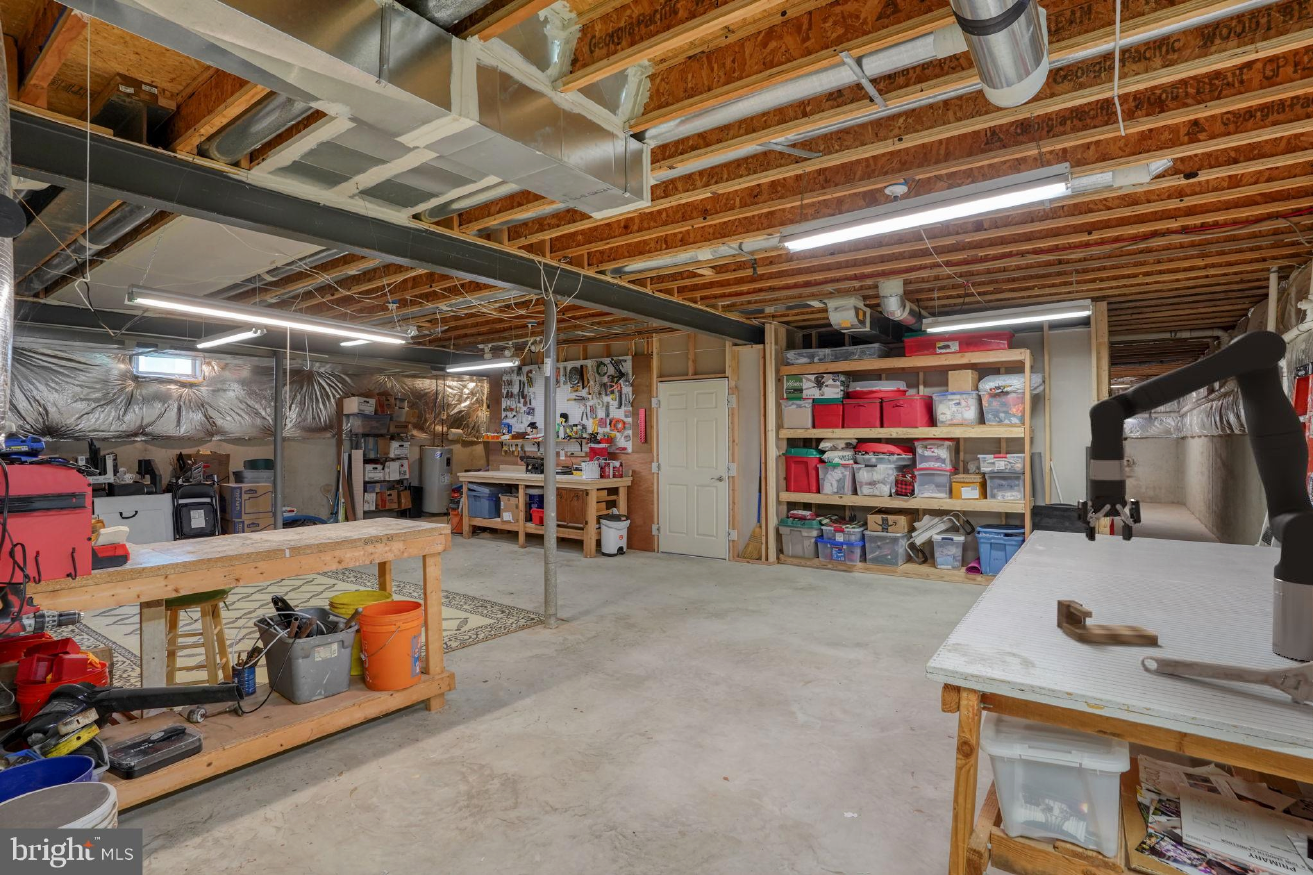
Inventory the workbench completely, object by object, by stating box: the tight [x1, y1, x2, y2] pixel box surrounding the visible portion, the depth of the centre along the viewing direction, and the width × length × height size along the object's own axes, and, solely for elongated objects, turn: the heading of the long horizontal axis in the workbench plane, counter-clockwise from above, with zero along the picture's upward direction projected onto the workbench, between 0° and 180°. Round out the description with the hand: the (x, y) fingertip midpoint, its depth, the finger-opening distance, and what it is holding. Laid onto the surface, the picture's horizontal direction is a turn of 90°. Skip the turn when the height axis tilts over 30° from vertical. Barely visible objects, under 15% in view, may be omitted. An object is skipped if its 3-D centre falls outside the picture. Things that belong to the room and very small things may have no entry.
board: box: [1062, 623, 1159, 645], centre depth 155 cm, size 18×7×2 cm, turn 84°
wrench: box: [1140, 655, 1313, 706], centre depth 125 cm, size 8×2×30 cm
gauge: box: [1056, 599, 1093, 631], centre depth 158 cm, size 4×10×7 cm, turn 174°
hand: (1109, 540), depth 161 cm, fingers open, 8 cm apart
